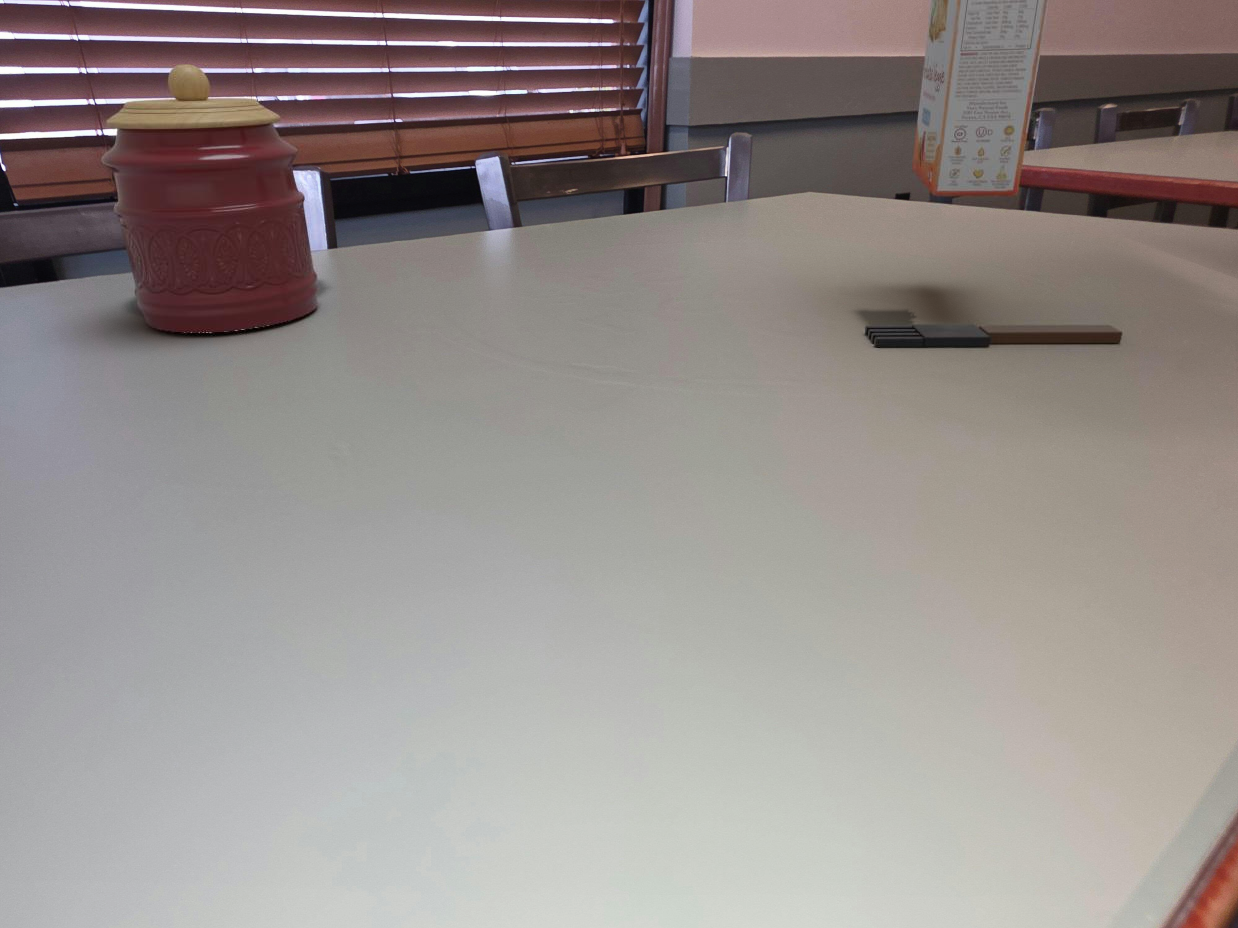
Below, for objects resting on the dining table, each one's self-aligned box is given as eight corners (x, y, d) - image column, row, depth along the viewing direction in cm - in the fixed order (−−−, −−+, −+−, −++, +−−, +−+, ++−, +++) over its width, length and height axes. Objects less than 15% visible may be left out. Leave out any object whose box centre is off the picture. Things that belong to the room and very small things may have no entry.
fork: (1102, 333, 61) (1105, 321, 60) (1125, 346, 58) (1128, 335, 57) (864, 333, 61) (865, 322, 61) (875, 347, 58) (876, 335, 58)
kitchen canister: (263, 342, 61) (210, 64, 53) (101, 333, 63) (30, 66, 56) (351, 296, 72) (318, 63, 65) (212, 290, 75) (164, 64, 67)
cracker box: (906, 172, 72) (942, -131, 63) (983, 173, 70) (1031, -135, 62) (924, 197, 59) (973, -177, 50) (1019, 198, 58) (1086, -184, 49)
